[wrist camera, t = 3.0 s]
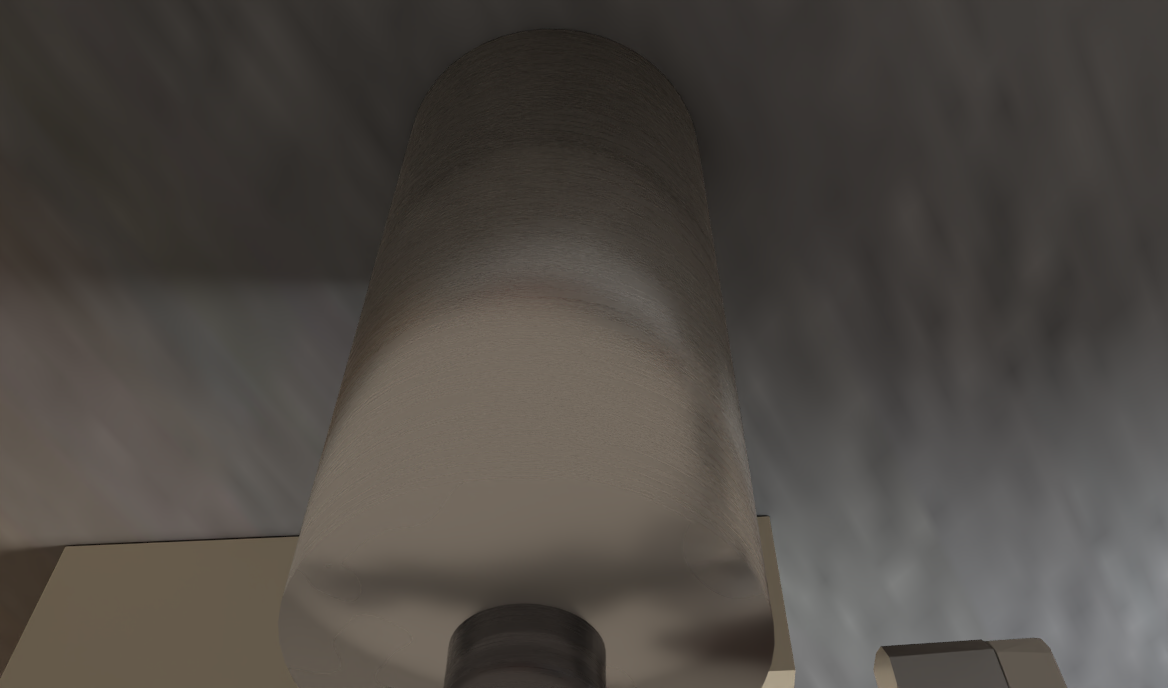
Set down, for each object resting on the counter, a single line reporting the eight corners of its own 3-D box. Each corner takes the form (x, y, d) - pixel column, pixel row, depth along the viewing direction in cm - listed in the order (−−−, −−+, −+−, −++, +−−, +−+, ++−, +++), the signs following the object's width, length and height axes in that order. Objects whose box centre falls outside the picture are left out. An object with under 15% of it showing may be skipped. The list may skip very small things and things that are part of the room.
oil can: (698, 19, 17) (807, 574, 9) (700, 278, 20) (781, 884, 12) (385, 39, 18) (178, 601, 9) (432, 292, 21) (314, 896, 12)
